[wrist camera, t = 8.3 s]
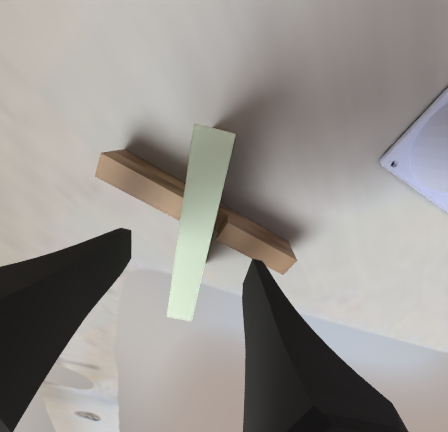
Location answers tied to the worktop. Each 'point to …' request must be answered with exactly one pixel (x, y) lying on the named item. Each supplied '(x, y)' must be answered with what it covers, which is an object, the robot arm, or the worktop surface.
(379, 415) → the robot arm
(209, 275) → the worktop surface
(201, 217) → the long pale green beam
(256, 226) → the walnut board
